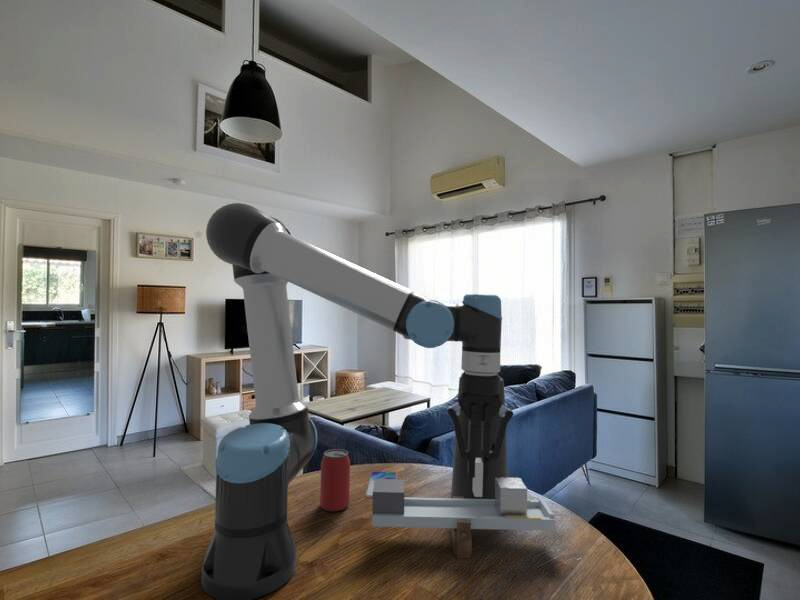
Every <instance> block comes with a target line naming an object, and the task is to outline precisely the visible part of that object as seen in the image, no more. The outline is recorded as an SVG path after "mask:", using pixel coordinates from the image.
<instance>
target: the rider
mask: <svg viewBox="0 0 800 600" xmlns="http://www.w3.org/2000/svg"><path fill="white" fill-rule="evenodd" d="M527 499H528V487H527V486H526V484H525V483H524V481H523V480H522V478H521V477H508V478H506V477H495V509H496V511H497V513H498V516H504V517H506V515H507V516H527Z"/></svg>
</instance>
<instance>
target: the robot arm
mask: <svg viewBox="0 0 800 600" xmlns="http://www.w3.org/2000/svg"><path fill="white" fill-rule="evenodd" d="M205 233H206V234H205V235H206V241H207V245H208V246H209V248H210V250H211V251H212V253H213V254H214V256H216V257H217V258H218V259H219V260H221V261H223V262H224V263H227V264H229V265H232V266H231V267H232V273H233V281H234V283H235V284H237V285H238V286H239V287H240V288H242V291H243V300H244V311H245V321H246V329H247V337H248V338H247V339H248V345H249V346H248V347H249V354H250V355H249V356H250V364H251V373H252V383H253V391H254V401H255V402H254V403H255V406H254V408H252V410H251V412H250V413H249V415H248V421H249V424H247V425H246V426H244V427H242V426H241V427H240V426H239V427H238V428H235V429H233V430H231V431H229V432H228V433H226V435H224V436H223V437H222V438H221V440H220V442H219V444H218V446H217V453H216V458H215V465H214V466H215V503H214V507H215V509H214V510H215V511H214V532H213V533H212V537H211V540H210V543H209V545H208V548H207V551H206V554H205V557H204V560H203V562H202V567H201V586H202V589H203V591H204V592H205V593H206V594H207V595H208V596H210V597H212V598H214V599H215V600H255V599H258V598H261V597H264V596H267V595H270V594H271V593H273V592H274V591H277V590H279V588H281V587H283V585H285V584H286V583H287V582H288V581H290V580H291V578H292V577H293V575H294V573H295V571H296V568H297V549H296V548H297V547H296V544H295V540H294V538H293V535H292V533H291V529H290V526H289V522H288V493H289V492H288V491H289V490H288V489H289V485H290V483H291V482H292V481H293V480H294V479H295V477H297V475H298V474H299V473H300V472H301V471H302V470H303V469H304V468H305V467H306V466H307V465H308V463H309V462H310V460H311V459H312V458H313V455H314V453H315V451H316V448H317V444H318V430H317V428H316V425H315V423H314V422H313V420H312V419H311V418H310V417H309V409H308V404H307V403H306V402H304V400H302V399H301V398H300V396H299V386H298V381H297V380H298V379H297V378H298V377H297V370H296V362H295V353H294V343H293V335H292V324H291V316H290V308H289V299H288V291H287V285H288V283H290V284H292V285H294V286H296V287H299V288H301V289H303V290H306V291H307V292H309V293H312V294H314V295H316V296H318V297H320V298H323V299H325V300H327V301H329V302H332V303H333V304H336V305H338V306H340V307H342V308H344V309H346V310H348V311H350V312H352V313H354V314H357V315H359V316H361V317H364V318H365V319H368V320H370V321H371V322H374V323H376V324H379V325H381V326H383V327H385V328H387V329H390V330H392V331H393V332H396V333H397V334H400V335H401V336H402V337H403V339H405V340H410V341H412V342H413V343H415V344H416V345H417V346H419V347H423V348H426V349H435V348H437V347H440V346H442V345H444V344H445V343H447V342H461V344H462V346H461V367H460V368H461V370H462V371H463V372H462V373H461V374H460V377H461V394H460V397H459V398H458V397H457V402H455V403H454V404H452V405H448V406H446V410H447V413H448V415H449V417H450V418H451V419H452V425H453V430H454V435H456V440H457V445H458V449H459V453H460V456H461V457H462V458H466V459H468V474H469V477H472V478H473V489H472V491H473V493H474V496H475V497H482V491H483V478H487V477H488V466H489V462H490V460H492V459H497V458H498V457H499V453H500V450H501V446H502V442H503V438H504V435H505V431H506V432H507V427H508V423H509V422H510V420H511V419H512V418H513V416H514V412H513V410H511V408H509V407H507V406H506V405H505V406H504V405H502V401H501V399H500V378H501V376H500V375H499V374H498V373H500V372H501V345H502V344H501V343H502V327H503V326H502V323H503V322H502V320H503V317H502V300H501V298H500V296H498V295H497V294H489V293H488V294H487V293H486V294H485V293H484V294H483V293H480V294H479V293H477V294H476V293H467V294H465V295H464V296H463V297H462V298H463V299H462V303H459V302H458V303H443V302H439V301H437V300H434V299H430V298H429V297H427V296H424V295H423V294H420V293H418V292H415V291H412V290H411V289H410V288H407V287H405V286H402V285H400V284H399V283H397V282H396V283H395V282H394V281H392V280H389V279H388V278H385V277H383V276H381V275H378V274H377V273H374V272H372V271H370V270H368V269H365V268H364V267H361V266H359V265H357V264H354V263H353V262H350V261H348V260H346V259H344V258H342V257H339V256H337V255H335V254H332V253H331V252H328V251H326V250H324V249H321V248H320V247H317V246H315V245H313V244H311V243H309V242H307V241H304V240H302V239H301V238H298V237H295V236H294V235H293V234H292V232H291V231H290V229H289V228H288V227H287V226H286V225H285V224H284V222H281V221H280V220H279V219H278V218H276V217H273V216H270V215H268V214H266V213H264V212H263V211H262V210H260V209H258V208H257V207H254V206H252V205H250V204H246V203H241V202H240V203H239V202H238V203H237V202H234V203H228V204H226V205H223V206H221V207H219V208H218V209H216V211H214V213H212V215H210V218H209V220H208V222H207V225H206V229H205ZM460 408H461V409H462V410H463V412H464V413H465V414H466V416H467V417H468V422H469V429H468V450H465V445H464V440H463V436H462V431H461V426H460V421H459V418H458V415H459V414H460V411H459V409H460ZM498 410H500V411H499V415H500V417H499V420H498V423H497V427H496V431H495V434H494V438H493V442H492V446H491V449H490V451H489V447H490V426H491V419H492V418H493V417H494V415H495V414H496V413H497V412H498ZM479 420H481V423H482V427H481V458H476V433H477V421H479Z"/></svg>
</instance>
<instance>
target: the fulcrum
mask: <svg viewBox="0 0 800 600" xmlns="http://www.w3.org/2000/svg"><path fill="white" fill-rule="evenodd" d="M452 498H459V499H464V497H462V496H452ZM449 534H450V538H451V544H452V549H453V550H452V551H453V555H455V556H456V559H471V556H472V555H473V554H472V553H473V549H472V548H473V532H472V529H471V522H470V520H457V528H449Z"/></svg>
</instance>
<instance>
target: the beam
mask: <svg viewBox="0 0 800 600" xmlns="http://www.w3.org/2000/svg"><path fill="white" fill-rule="evenodd" d="M405 483H406V481H405V479H403V478H402V479H375V483H374V488H373V498H372V511H371V512H372V514H371V527H372V528H373V527H374V528H375V527H376V528H377V527H380V528H413V529H414V528H418V529H420V528H421V529H423V528H425V529H450V528H457V520H470V522H471V530H502V531H503V530H505V531H506V530H510V531H512V530H514V531H547V532H548V531H549V532H550V531H552V532H553V531H554V532H555V531H556V519H555V514H554V513H553V511H552V510H551V508H550V507H549V505H548V504H547V503H546V501H545V499H543V498H539V499H530V498H527V516H507V515H506V517H504V516H498V513H497V511H496V509H495V499H459V498H450V497H448V498H447V497H445V498H444V497H413V496H412V497H405V495H406V493H405V492H406V491H405V490H406V487H405Z"/></svg>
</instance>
